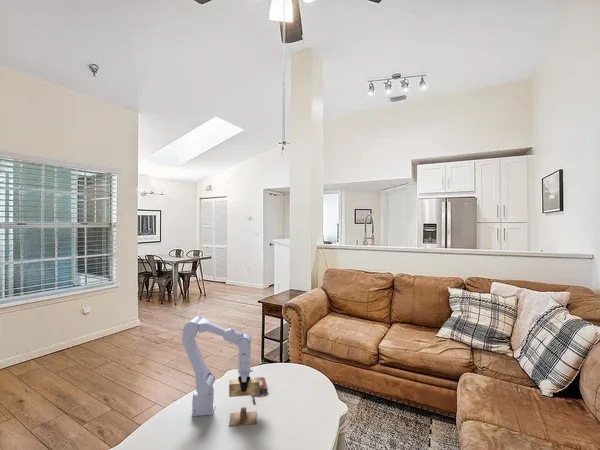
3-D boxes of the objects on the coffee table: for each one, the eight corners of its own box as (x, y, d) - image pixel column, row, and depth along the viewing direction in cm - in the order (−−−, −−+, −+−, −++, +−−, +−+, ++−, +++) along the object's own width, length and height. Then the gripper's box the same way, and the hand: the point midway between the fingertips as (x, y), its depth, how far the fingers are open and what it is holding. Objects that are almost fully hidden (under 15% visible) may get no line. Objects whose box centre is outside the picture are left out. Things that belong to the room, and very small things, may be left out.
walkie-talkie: (248, 382, 163) (251, 404, 143) (249, 375, 163) (252, 396, 143) (264, 381, 165) (269, 402, 145) (264, 373, 165) (269, 393, 145)
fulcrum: (228, 426, 128) (229, 419, 127) (230, 414, 135) (230, 407, 135) (256, 423, 129) (256, 417, 129) (256, 412, 137) (256, 405, 137)
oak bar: (229, 397, 135) (229, 384, 135) (229, 392, 139) (229, 380, 139) (259, 394, 138) (259, 382, 138) (259, 390, 141) (259, 378, 141)
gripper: (253, 367, 132) (252, 397, 132) (253, 353, 146) (252, 380, 146) (237, 368, 130) (236, 398, 131) (238, 353, 145) (238, 381, 145)
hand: (244, 388), depth 138 cm, fingers closed on oak bar, 3 cm apart
